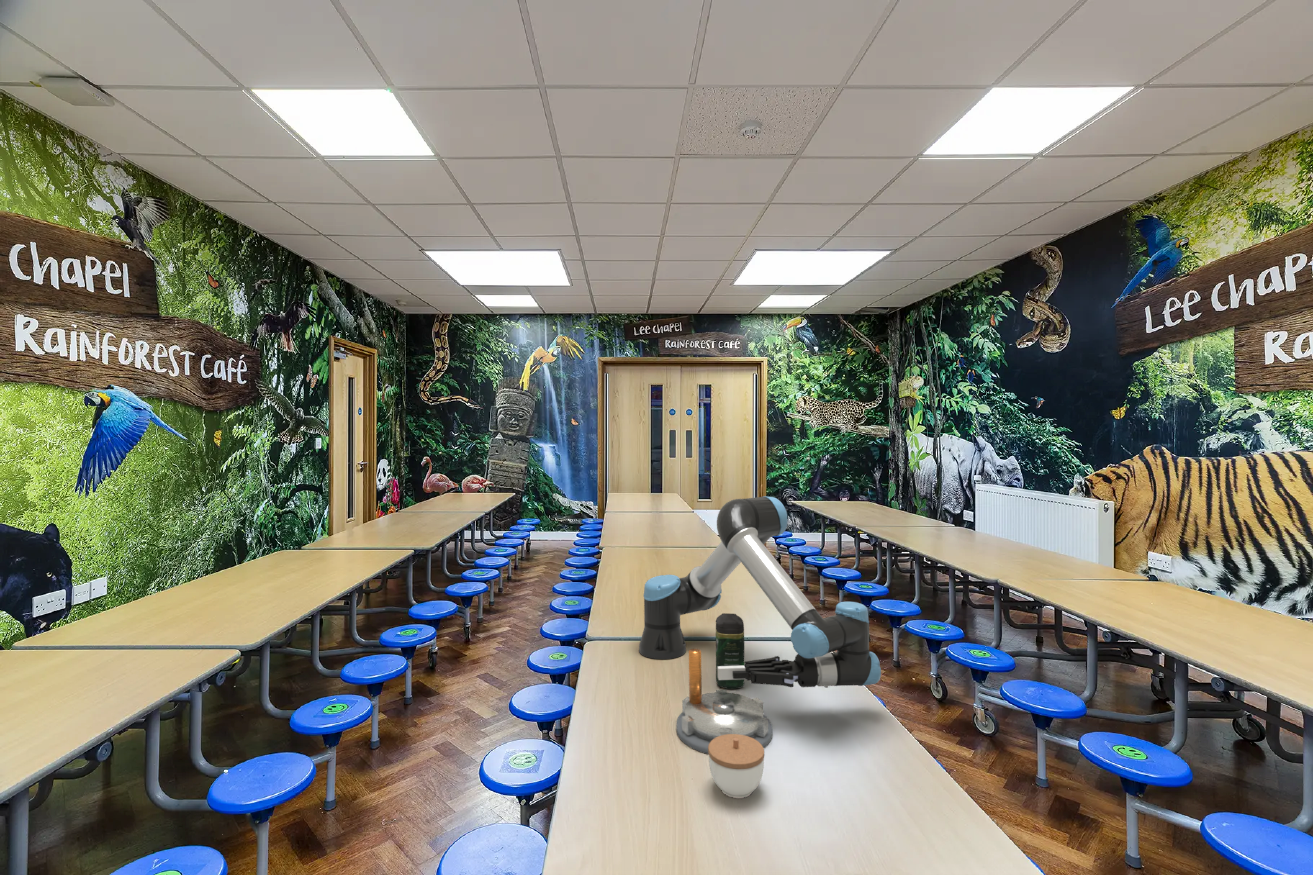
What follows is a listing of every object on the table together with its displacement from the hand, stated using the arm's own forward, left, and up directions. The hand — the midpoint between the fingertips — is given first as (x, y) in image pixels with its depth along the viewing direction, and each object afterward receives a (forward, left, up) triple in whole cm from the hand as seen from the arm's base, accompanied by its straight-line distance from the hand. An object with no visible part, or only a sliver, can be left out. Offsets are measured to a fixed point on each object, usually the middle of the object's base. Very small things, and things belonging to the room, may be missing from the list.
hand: (718, 673), depth 133 cm
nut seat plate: (+4, -2, -11) cm, 12 cm away
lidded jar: (+21, -16, -11) cm, 29 cm away
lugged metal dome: (+4, -2, -9) cm, 11 cm away
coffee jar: (-13, +18, -11) cm, 25 cm away
